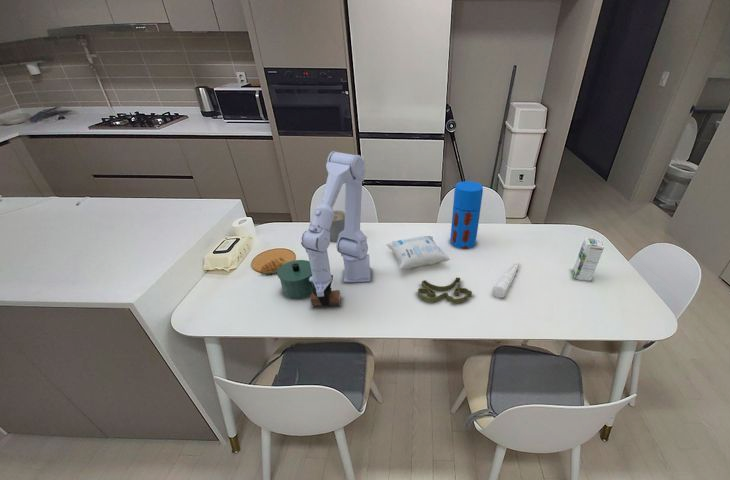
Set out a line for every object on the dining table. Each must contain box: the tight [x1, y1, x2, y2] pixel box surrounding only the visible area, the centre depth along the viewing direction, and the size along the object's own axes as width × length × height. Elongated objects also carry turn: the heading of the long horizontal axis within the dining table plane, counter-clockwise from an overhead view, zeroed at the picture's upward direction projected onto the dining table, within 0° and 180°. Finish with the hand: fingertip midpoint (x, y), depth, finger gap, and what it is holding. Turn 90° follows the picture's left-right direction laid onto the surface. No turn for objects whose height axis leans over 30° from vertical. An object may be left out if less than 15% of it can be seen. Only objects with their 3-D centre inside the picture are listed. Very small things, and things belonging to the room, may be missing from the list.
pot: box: [279, 277, 315, 300], centre depth 121 cm, size 12×12×8 cm
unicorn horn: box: [491, 263, 519, 299], centre depth 126 cm, size 5×24×5 cm, turn 146°
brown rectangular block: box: [310, 289, 341, 309], centre depth 116 cm, size 9×4×4 cm, turn 95°
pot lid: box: [276, 259, 312, 282], centre depth 118 cm, size 13×13×3 cm
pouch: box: [385, 235, 451, 270], centre depth 136 cm, size 8×19×20 cm
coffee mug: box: [329, 209, 345, 243], centre depth 151 cm, size 13×10×10 cm
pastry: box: [260, 256, 287, 275], centre depth 131 cm, size 9×7×4 cm
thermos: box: [450, 180, 484, 250], centre depth 142 cm, size 11×11×25 cm
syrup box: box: [572, 237, 605, 282], centre depth 126 cm, size 6×6×14 cm
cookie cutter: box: [417, 277, 473, 305], centre depth 121 cm, size 18×12×2 cm, turn 98°
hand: (326, 300), depth 116 cm, fingers closed on brown rectangular block, 4 cm apart
